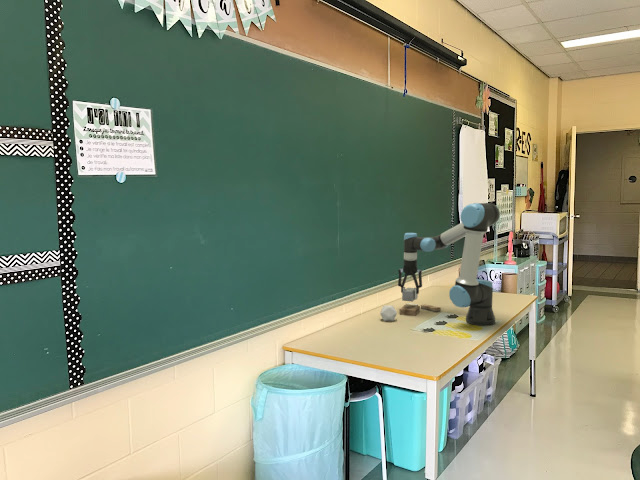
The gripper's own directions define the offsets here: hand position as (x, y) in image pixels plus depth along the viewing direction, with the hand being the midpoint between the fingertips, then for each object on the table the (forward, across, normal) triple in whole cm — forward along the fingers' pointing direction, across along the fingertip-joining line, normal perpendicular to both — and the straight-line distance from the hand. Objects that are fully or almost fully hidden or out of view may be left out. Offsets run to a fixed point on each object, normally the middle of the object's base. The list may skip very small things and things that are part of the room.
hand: (409, 298), depth 292 cm
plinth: (+8, 0, 0) cm, 8 cm away
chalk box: (+9, +1, -10) cm, 13 cm away
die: (+9, +7, +21) cm, 24 cm away
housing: (0, 0, 0) cm, 0 cm away
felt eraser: (+9, -10, -11) cm, 17 cm away
